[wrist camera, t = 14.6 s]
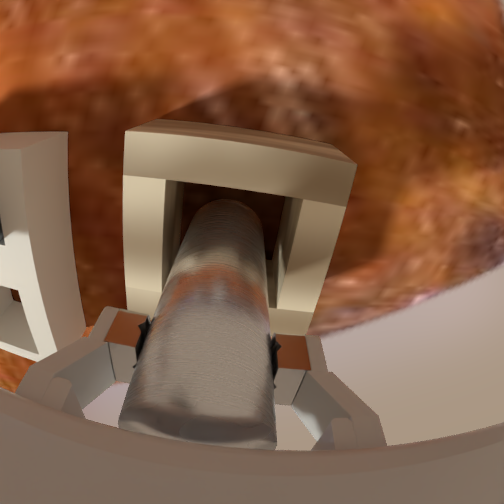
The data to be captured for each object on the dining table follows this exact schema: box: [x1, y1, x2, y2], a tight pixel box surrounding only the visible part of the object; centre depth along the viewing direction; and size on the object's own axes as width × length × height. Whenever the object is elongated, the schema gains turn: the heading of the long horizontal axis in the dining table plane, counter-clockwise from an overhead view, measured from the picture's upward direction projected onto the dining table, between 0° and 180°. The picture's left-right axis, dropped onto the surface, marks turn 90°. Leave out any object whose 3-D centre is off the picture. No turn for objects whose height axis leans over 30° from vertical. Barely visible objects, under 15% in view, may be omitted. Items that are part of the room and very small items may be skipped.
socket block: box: [0, 132, 86, 362], centre depth 18 cm, size 16×10×5 cm, turn 171°
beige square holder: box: [123, 119, 357, 336], centre depth 17 cm, size 10×10×5 cm
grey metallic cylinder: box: [118, 199, 277, 450], centre depth 12 cm, size 4×4×12 cm
